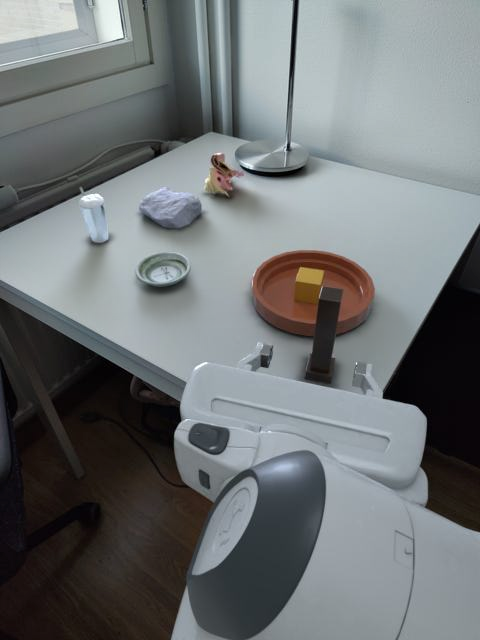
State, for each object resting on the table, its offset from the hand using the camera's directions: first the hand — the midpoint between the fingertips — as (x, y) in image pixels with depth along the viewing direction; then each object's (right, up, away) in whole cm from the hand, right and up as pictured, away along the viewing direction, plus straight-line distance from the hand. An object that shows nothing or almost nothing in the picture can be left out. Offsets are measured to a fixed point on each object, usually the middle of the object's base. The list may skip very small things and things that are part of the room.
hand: (313, 357), depth 44 cm
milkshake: (-35, +20, +48) cm, 63 cm away
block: (+4, +8, +32) cm, 33 cm away
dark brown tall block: (+4, -4, +20) cm, 21 cm away
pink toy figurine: (-10, +34, +63) cm, 73 cm away
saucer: (-20, +11, +38) cm, 44 cm away
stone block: (-22, +26, +54) cm, 64 cm away
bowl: (+5, +7, +32) cm, 34 cm away
